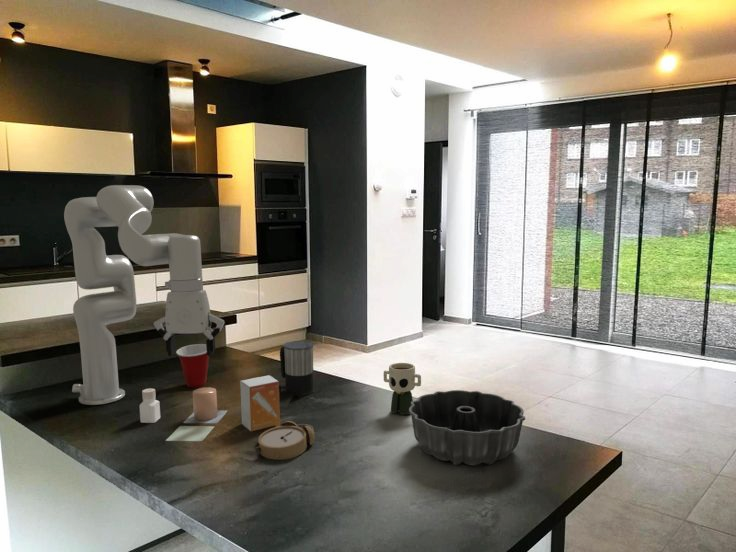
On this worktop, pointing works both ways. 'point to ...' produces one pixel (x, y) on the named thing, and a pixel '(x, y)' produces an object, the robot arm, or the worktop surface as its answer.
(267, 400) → the small box
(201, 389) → the peach rounded cylinder
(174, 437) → the board
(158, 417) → the salt shaker
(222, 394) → the worktop surface
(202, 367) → the plastic cup
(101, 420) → the worktop surface
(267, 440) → the alarm clock
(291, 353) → the milk frother
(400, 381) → the character mug
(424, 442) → the bundt pan
